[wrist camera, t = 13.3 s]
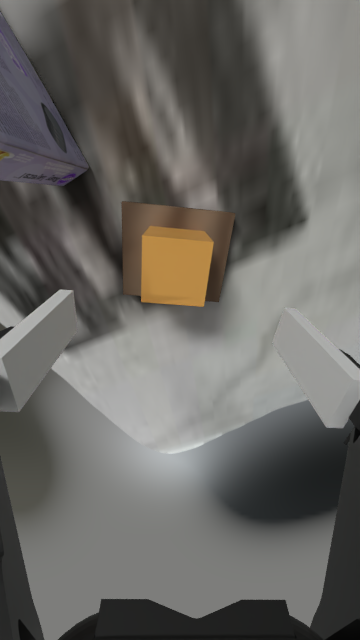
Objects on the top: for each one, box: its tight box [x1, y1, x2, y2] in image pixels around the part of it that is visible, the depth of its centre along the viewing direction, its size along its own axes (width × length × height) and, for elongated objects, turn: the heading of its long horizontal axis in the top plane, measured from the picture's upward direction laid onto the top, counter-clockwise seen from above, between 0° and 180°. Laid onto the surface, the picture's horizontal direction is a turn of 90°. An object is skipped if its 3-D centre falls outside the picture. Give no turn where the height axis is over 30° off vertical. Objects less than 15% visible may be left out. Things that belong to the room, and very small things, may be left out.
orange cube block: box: [141, 226, 214, 307], centre depth 28 cm, size 7×7×8 cm
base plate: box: [122, 201, 235, 302], centre depth 33 cm, size 14×12×2 cm
